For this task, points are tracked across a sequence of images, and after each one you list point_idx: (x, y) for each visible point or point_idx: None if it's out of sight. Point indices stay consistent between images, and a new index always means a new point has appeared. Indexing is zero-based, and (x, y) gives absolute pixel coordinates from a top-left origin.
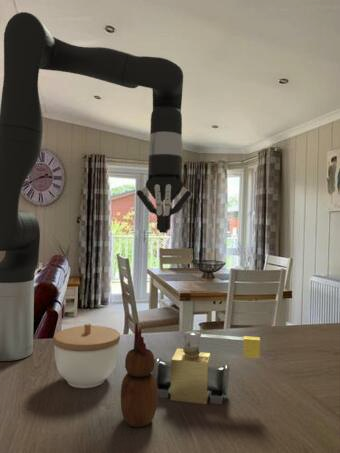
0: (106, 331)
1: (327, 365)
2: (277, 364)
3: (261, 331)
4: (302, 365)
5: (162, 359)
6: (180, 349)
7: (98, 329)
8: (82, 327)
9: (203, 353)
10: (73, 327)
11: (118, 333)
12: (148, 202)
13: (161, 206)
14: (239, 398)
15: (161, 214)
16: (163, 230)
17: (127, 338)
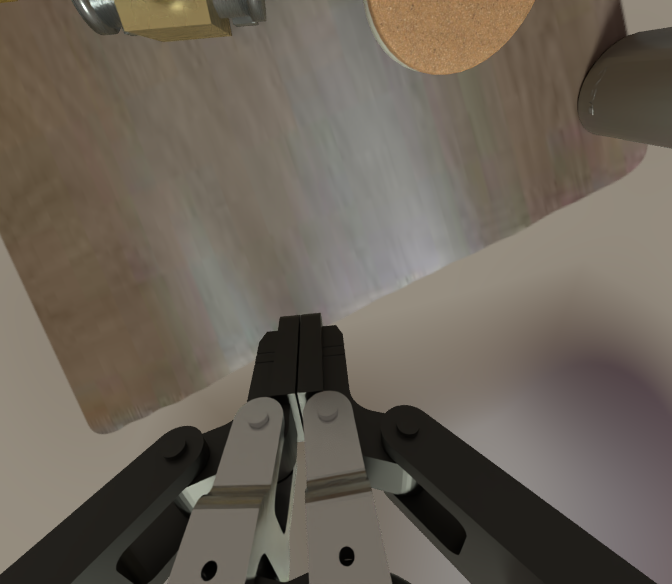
0: (412, 6)
1: (21, 251)
2: (101, 225)
3: (190, 370)
4: (60, 235)
5: (247, 3)
6: (200, 17)
7: (440, 19)
8: (489, 24)
9: (132, 3)
10: (515, 19)
11: (375, 7)
12: (468, 503)
13: (307, 474)
14: None
15: (307, 404)
16: (292, 318)
17: (407, 261)
